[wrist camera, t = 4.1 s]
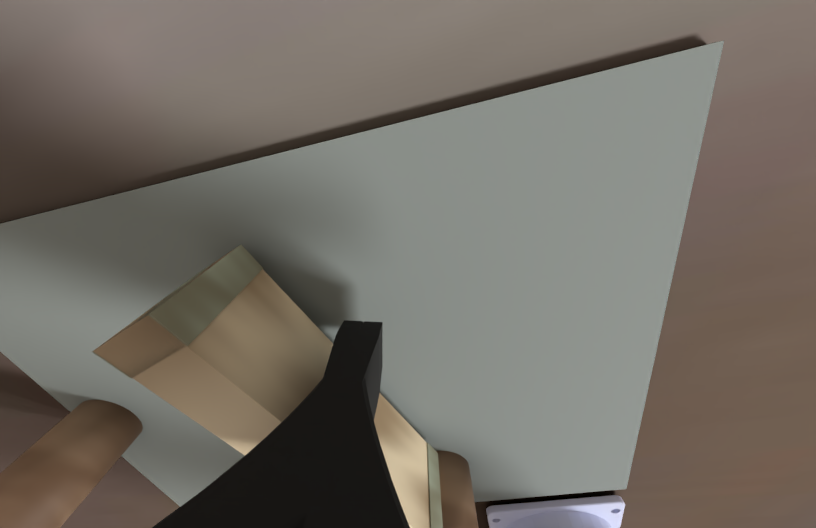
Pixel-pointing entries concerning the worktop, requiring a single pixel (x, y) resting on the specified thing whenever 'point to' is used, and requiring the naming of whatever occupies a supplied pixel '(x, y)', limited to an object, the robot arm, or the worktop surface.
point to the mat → (411, 272)
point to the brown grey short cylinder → (456, 491)
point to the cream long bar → (255, 370)
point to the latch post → (65, 465)
